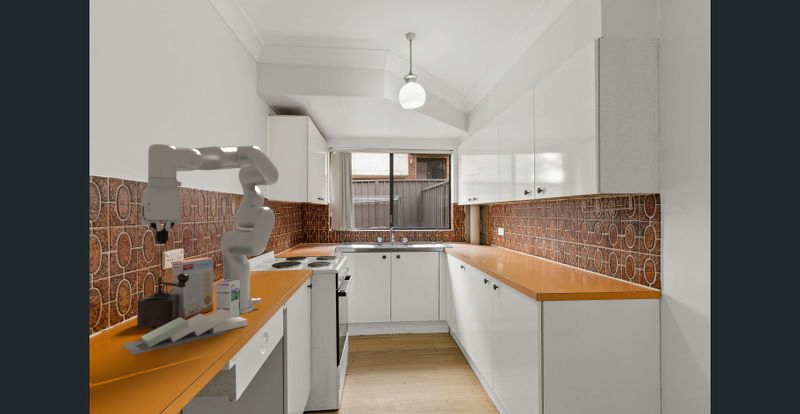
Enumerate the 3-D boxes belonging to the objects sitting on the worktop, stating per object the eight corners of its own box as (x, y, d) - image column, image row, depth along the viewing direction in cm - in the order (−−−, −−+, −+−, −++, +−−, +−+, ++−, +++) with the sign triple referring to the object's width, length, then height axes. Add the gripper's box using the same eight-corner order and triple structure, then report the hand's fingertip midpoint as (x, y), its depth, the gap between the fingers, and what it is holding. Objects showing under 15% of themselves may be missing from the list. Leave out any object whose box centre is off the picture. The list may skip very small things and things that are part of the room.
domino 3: (190, 332, 122) (223, 313, 130) (197, 336, 118) (230, 317, 126) (187, 326, 122) (221, 308, 129) (194, 330, 118) (228, 311, 125)
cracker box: (202, 309, 154) (202, 256, 154) (214, 310, 152) (214, 257, 152) (170, 318, 141) (171, 261, 141) (183, 319, 139) (183, 261, 139)
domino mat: (211, 326, 130) (211, 325, 130) (226, 334, 122) (226, 333, 122) (122, 345, 111) (122, 344, 111) (133, 356, 103) (133, 354, 103)
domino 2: (166, 337, 117) (202, 318, 125) (173, 342, 113) (209, 322, 121) (164, 332, 117) (200, 313, 124) (170, 336, 113) (207, 316, 120)
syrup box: (230, 323, 134) (230, 282, 134) (215, 322, 135) (215, 281, 135) (240, 319, 139) (240, 279, 139) (226, 318, 140) (226, 278, 141)
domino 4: (206, 329, 126) (239, 322, 134) (213, 333, 122) (247, 325, 130) (206, 323, 126) (239, 316, 134) (213, 326, 122) (247, 319, 130)
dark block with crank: (134, 330, 126) (135, 275, 126) (147, 321, 137) (147, 270, 137) (187, 326, 130) (187, 273, 130) (195, 318, 141) (195, 269, 141)
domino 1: (143, 342, 113) (182, 322, 120) (149, 347, 109) (189, 326, 116) (140, 336, 112) (179, 317, 120) (146, 341, 108) (186, 320, 116)
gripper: (184, 186, 127) (183, 241, 127) (130, 184, 116) (130, 244, 116) (192, 185, 122) (192, 243, 122) (137, 182, 111) (136, 246, 111)
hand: (161, 243), depth 119 cm, fingers closed
